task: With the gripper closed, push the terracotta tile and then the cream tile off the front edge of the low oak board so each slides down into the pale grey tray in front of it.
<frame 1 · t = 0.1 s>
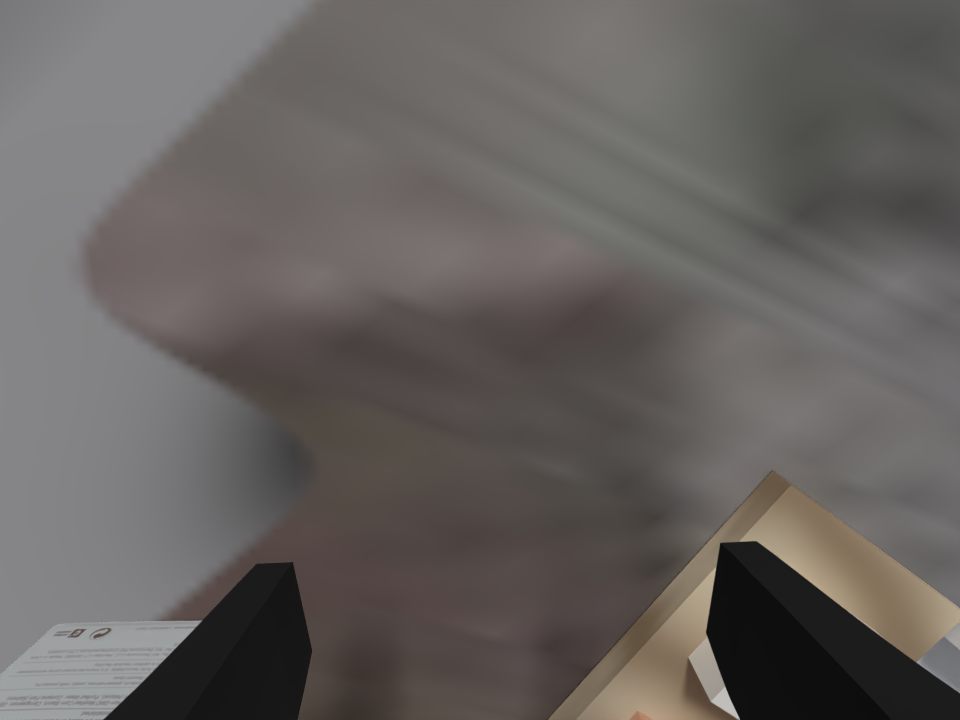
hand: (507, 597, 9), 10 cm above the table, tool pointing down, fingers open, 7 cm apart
supplement box: (162, 688, 22), on the table
cream tile: (781, 643, 20), point 1 cm above the table, touching oak board
oak board: (704, 693, 22), on the table
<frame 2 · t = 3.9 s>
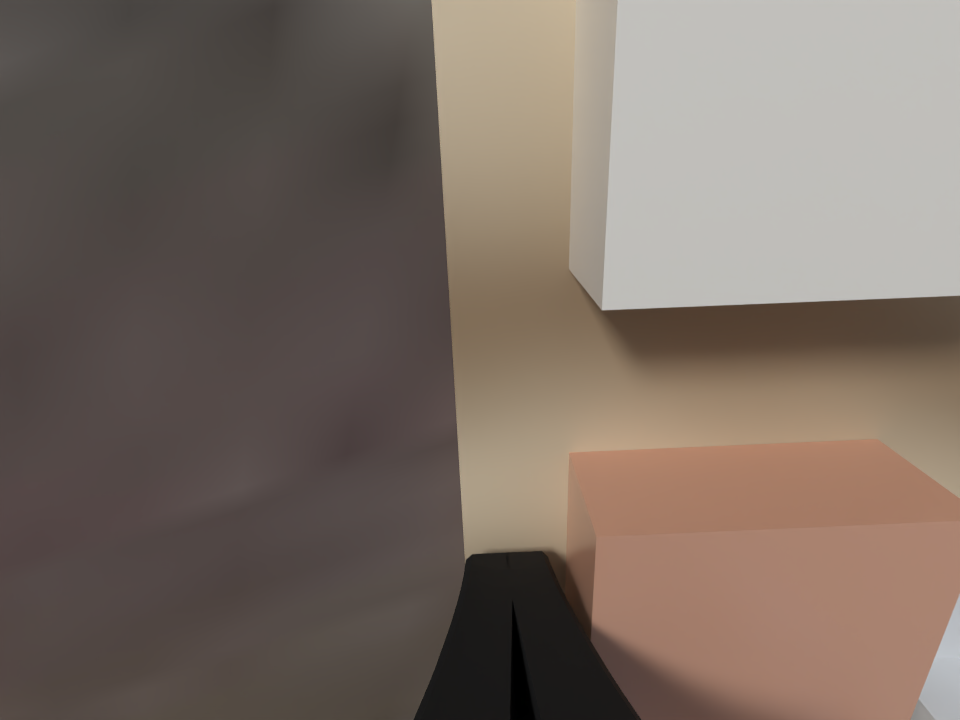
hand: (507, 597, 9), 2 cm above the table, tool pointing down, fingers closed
cream tile: (776, 60, 7), point 1 cm above the table, touching oak board
oak board: (716, 333, 9), on the table
terracotta tile: (704, 566, 10), point 1 cm above the table, touching gripper
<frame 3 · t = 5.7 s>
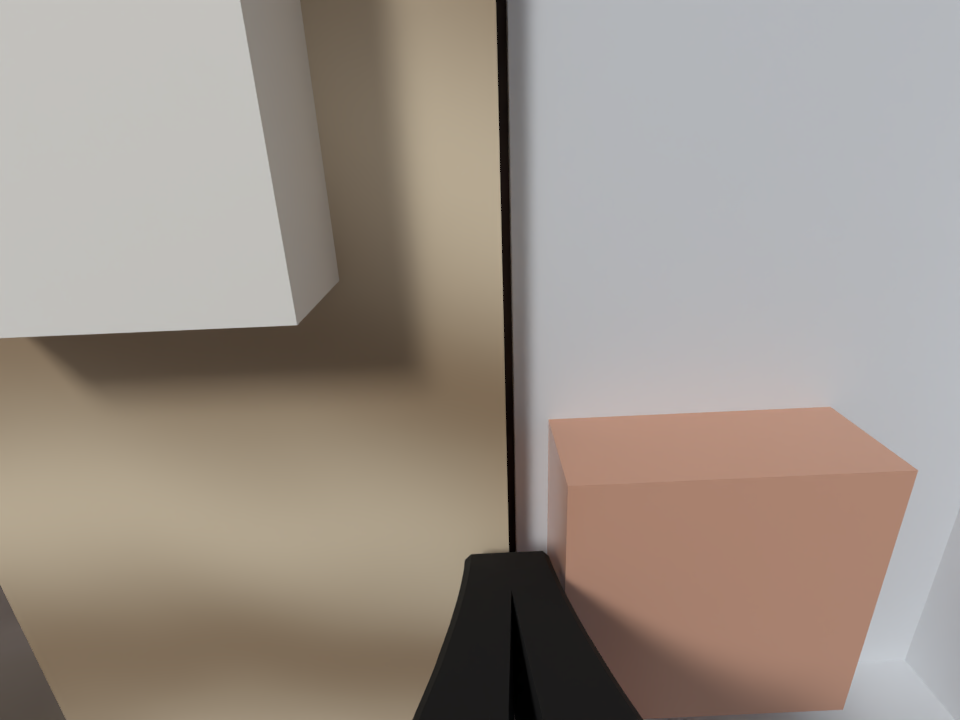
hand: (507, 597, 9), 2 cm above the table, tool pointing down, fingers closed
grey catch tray: (795, 331, 9), on the table
cream tile: (108, 90, 7), point 1 cm above the table, touching oak board
oak board: (239, 355, 9), on the table
terracotta tile: (675, 527, 10), resting on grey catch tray
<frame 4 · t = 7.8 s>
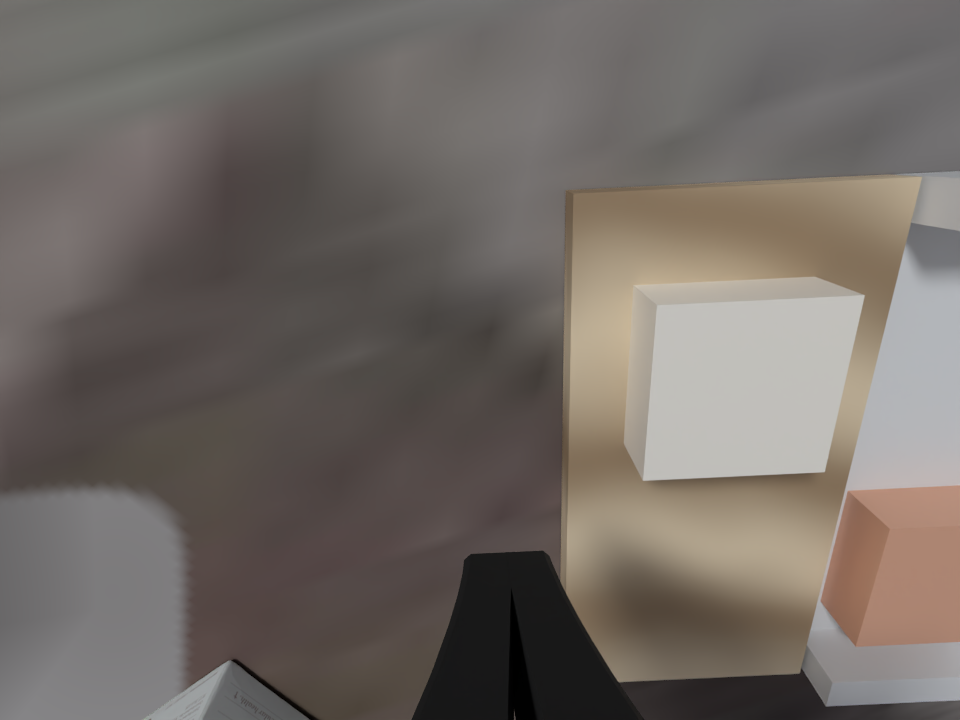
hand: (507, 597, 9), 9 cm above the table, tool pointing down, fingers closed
cream tile: (713, 364, 16), point 1 cm above the table, touching oak board
oak board: (693, 459, 18), on the table
terracotta tile: (902, 545, 19), resting on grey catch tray
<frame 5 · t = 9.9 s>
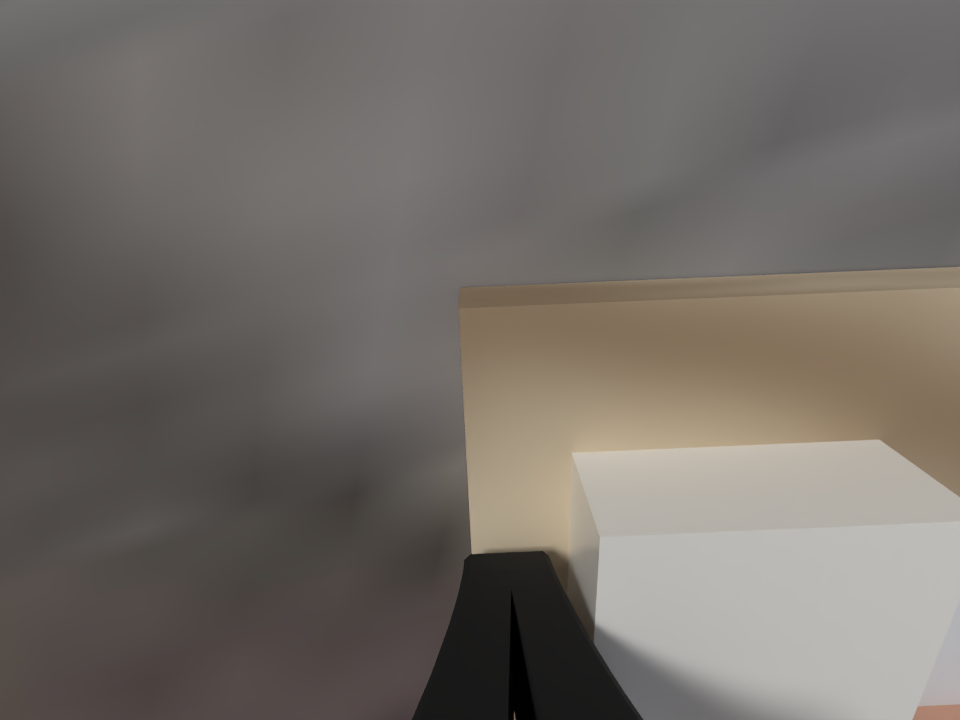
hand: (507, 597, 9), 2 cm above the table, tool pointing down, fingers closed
cream tile: (707, 566, 10), point 1 cm above the table, touching gripper, oak board
oak board: (676, 664, 12), on the table
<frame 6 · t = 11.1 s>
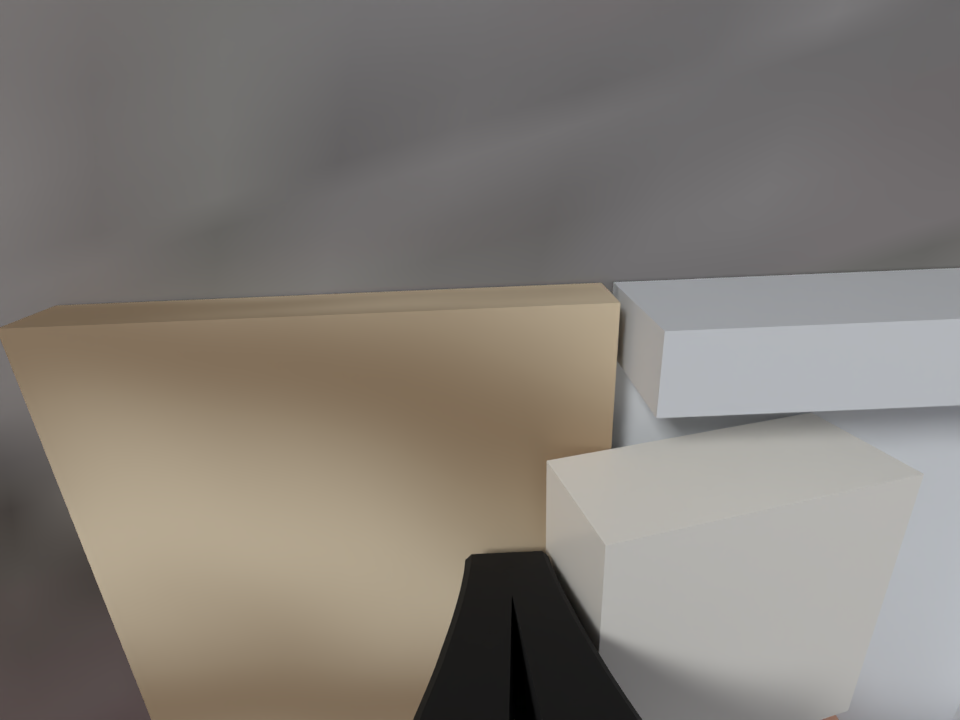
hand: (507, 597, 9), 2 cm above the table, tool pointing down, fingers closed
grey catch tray: (804, 658, 12), on the table
cream tile: (672, 553, 10), point 1 cm above the table, tilted 13°, touching gripper
oak board: (385, 677, 12), on the table
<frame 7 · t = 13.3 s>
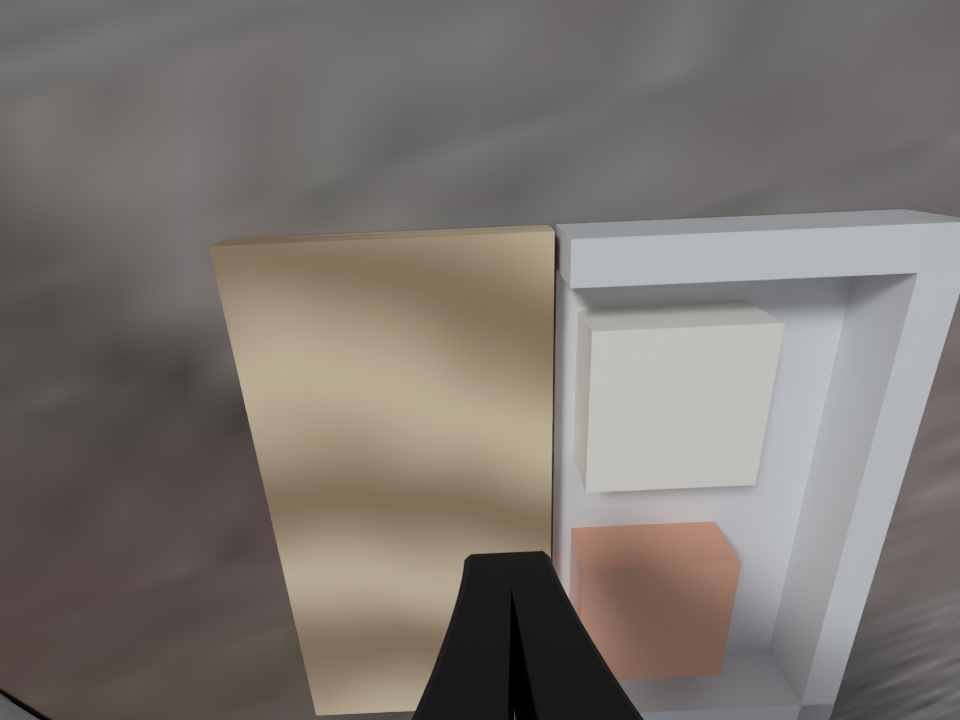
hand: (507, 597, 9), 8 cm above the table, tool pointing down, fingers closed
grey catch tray: (694, 484, 18), on the table
cream tile: (655, 383, 17), resting on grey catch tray
oak board: (415, 497, 18), on the table
terracotta tile: (637, 579, 20), resting on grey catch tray
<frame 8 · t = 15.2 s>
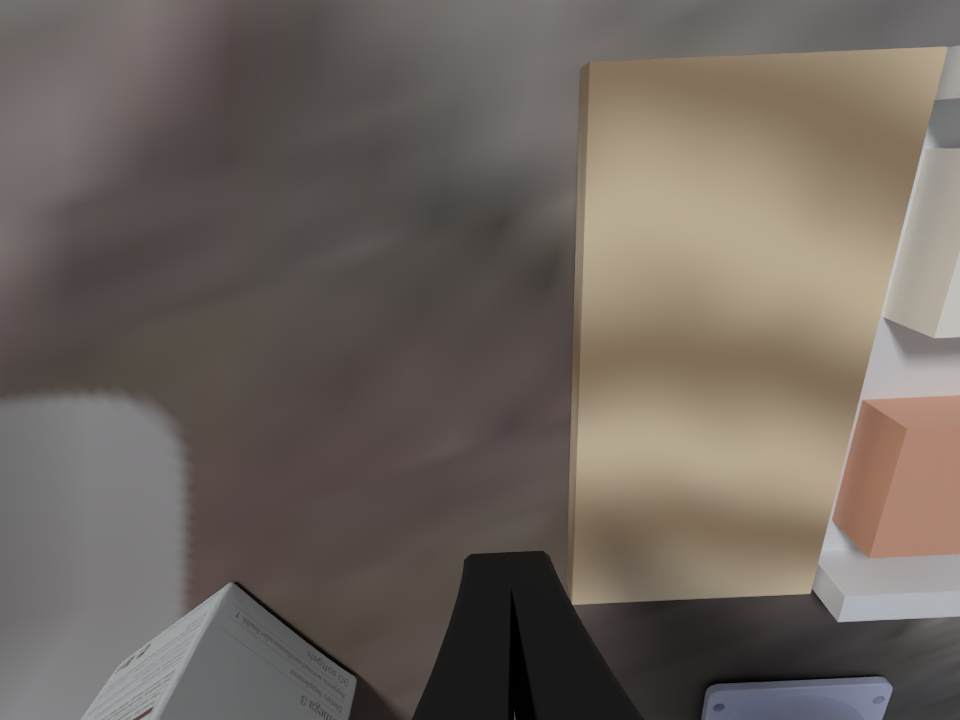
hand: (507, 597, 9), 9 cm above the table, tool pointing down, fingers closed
supplement box: (242, 663, 23), on the table
oak board: (706, 366, 18), on the table
terracotta tile: (916, 459, 19), resting on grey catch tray
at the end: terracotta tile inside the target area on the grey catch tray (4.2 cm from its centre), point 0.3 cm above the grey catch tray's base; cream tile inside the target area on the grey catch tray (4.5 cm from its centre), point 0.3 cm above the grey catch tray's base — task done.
